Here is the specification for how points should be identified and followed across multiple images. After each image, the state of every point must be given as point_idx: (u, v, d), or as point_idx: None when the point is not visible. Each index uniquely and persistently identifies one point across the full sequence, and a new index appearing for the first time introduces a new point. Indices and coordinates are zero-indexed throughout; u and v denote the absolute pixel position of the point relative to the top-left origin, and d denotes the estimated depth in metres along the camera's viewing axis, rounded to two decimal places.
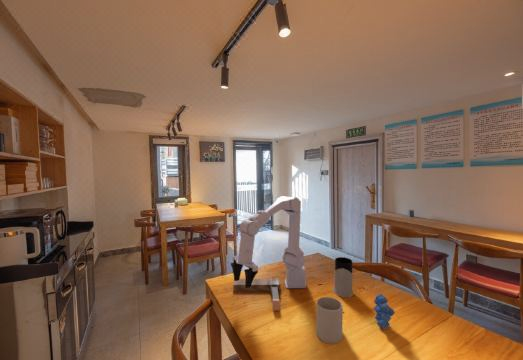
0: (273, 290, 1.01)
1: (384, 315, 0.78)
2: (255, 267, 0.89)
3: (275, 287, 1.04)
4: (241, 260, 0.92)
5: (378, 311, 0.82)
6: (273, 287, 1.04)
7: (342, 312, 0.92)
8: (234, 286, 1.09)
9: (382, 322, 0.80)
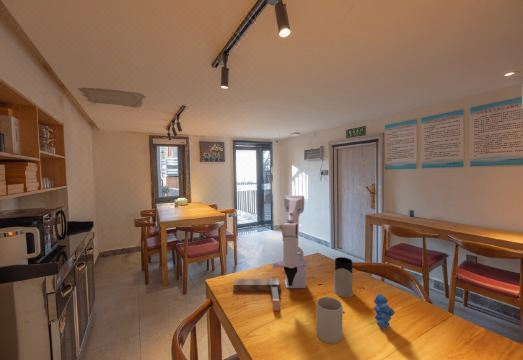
0: (273, 290, 1.01)
1: (384, 315, 0.78)
2: None
3: (275, 287, 1.04)
4: (293, 263, 0.93)
5: (378, 311, 0.82)
6: (273, 287, 1.04)
7: (343, 312, 0.92)
8: (234, 286, 1.09)
9: (382, 322, 0.80)
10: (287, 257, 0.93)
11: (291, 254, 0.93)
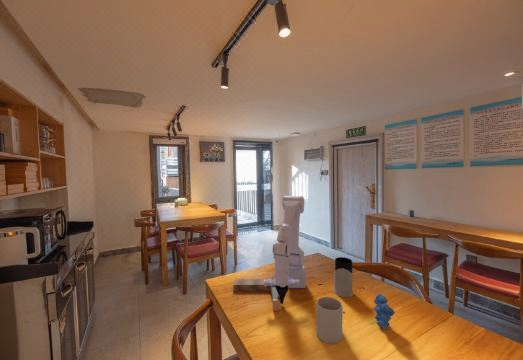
0: (273, 290, 1.01)
1: (384, 315, 0.78)
2: (299, 282, 0.96)
3: (275, 287, 1.04)
4: (284, 282, 0.94)
5: (378, 311, 0.82)
6: (273, 287, 1.04)
7: (343, 312, 0.92)
8: (234, 286, 1.09)
9: (382, 322, 0.80)
10: (278, 276, 0.94)
11: (282, 273, 0.94)
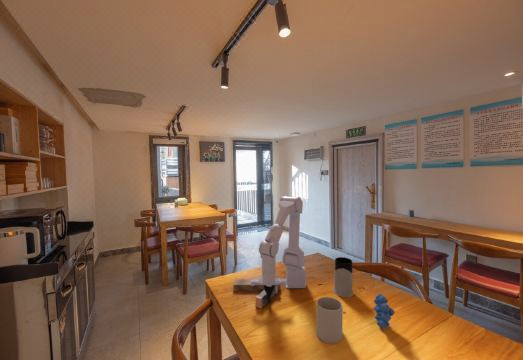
0: None
1: (384, 315, 0.78)
2: (286, 281, 0.97)
3: None
4: (271, 281, 0.94)
5: (378, 311, 0.82)
6: None
7: (344, 312, 0.92)
8: (234, 286, 1.09)
9: (382, 322, 0.80)
10: (265, 275, 0.95)
11: (269, 272, 0.94)
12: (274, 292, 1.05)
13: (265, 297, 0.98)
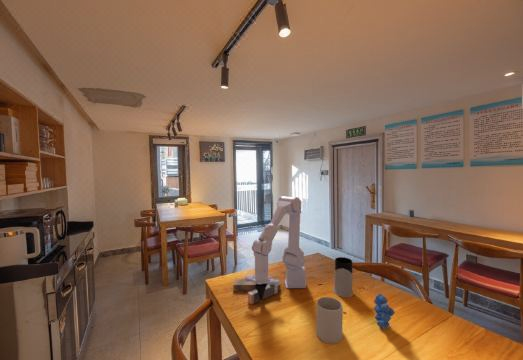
0: None
1: (384, 315, 0.78)
2: (278, 282, 0.96)
3: (269, 286, 1.05)
4: (262, 280, 0.96)
5: (378, 311, 0.82)
6: (268, 285, 1.05)
7: (344, 312, 0.92)
8: (234, 286, 1.09)
9: (382, 322, 0.80)
10: (256, 273, 0.97)
11: (259, 270, 0.96)
12: (272, 292, 1.05)
13: (258, 294, 1.00)
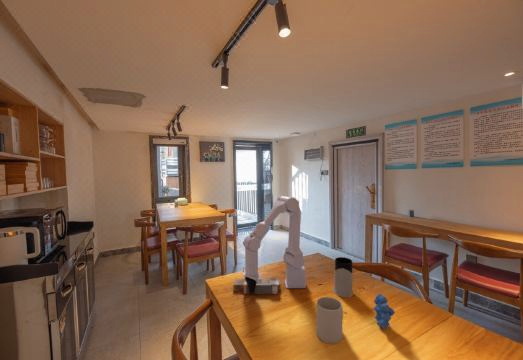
0: (261, 283, 1.08)
1: (384, 315, 0.78)
2: (259, 280, 0.98)
3: (267, 284, 1.07)
4: (247, 273, 1.02)
5: (378, 311, 0.82)
6: (267, 283, 1.08)
7: None
8: (234, 286, 1.09)
9: (382, 322, 0.80)
10: (245, 266, 1.04)
11: (246, 264, 1.03)
12: (269, 291, 1.06)
13: None
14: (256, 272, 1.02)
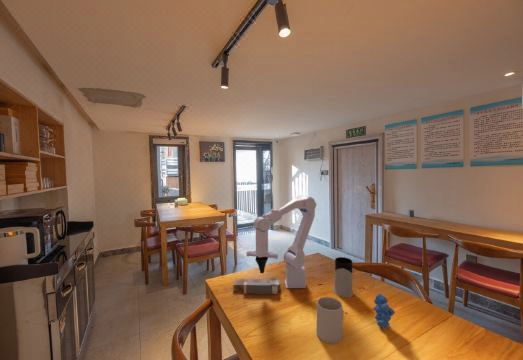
0: (261, 283, 1.08)
1: (384, 315, 0.78)
2: (277, 255, 1.05)
3: (267, 284, 1.07)
4: (262, 253, 1.04)
5: (378, 311, 0.82)
6: (267, 283, 1.08)
7: None
8: (234, 286, 1.09)
9: (382, 322, 0.80)
10: (257, 247, 1.05)
11: (260, 245, 1.04)
12: (269, 291, 1.06)
13: (252, 287, 1.06)
14: None
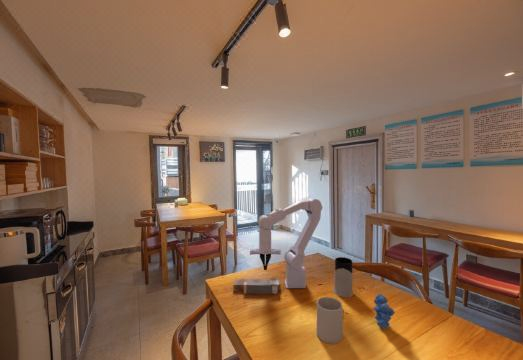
0: (261, 283, 1.08)
1: (384, 315, 0.78)
2: (280, 251, 1.10)
3: (267, 284, 1.07)
4: (267, 250, 1.08)
5: (378, 311, 0.82)
6: (267, 283, 1.08)
7: None
8: (234, 286, 1.09)
9: (382, 322, 0.80)
10: (262, 245, 1.08)
11: (265, 242, 1.07)
12: (269, 291, 1.06)
13: (252, 287, 1.06)
14: None
